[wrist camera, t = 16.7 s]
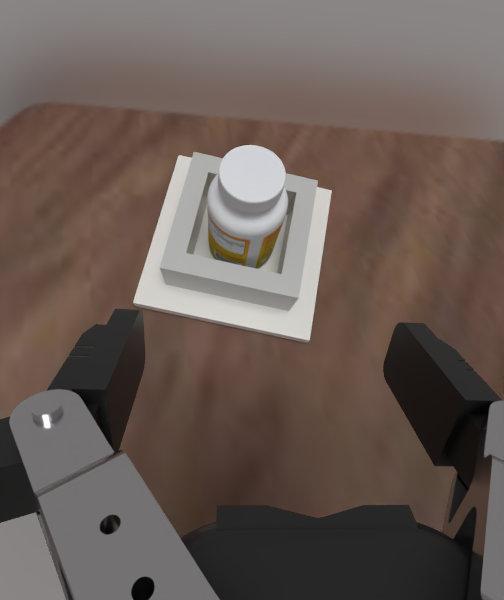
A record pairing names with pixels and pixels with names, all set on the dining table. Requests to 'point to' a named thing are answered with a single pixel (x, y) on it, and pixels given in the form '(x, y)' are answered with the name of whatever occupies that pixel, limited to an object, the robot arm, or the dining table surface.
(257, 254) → the supplement bottle
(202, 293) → the socket block
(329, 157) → the dining table surface
